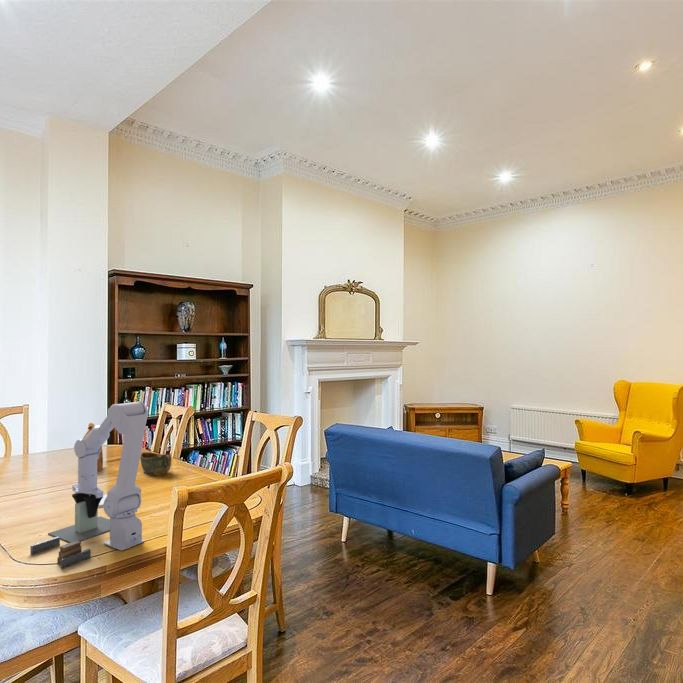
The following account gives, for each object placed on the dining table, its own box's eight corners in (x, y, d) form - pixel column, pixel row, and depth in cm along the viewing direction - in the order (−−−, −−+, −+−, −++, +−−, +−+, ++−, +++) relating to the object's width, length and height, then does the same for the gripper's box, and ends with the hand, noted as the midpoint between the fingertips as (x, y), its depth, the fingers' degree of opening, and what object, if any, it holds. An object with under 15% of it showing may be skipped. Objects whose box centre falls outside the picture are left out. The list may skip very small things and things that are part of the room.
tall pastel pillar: (97, 527, 165) (97, 500, 165) (80, 533, 160) (80, 505, 160) (92, 525, 167) (92, 498, 167) (74, 531, 162) (75, 503, 161)
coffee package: (78, 474, 230) (78, 427, 230) (81, 467, 242) (81, 422, 242) (101, 471, 234) (102, 425, 234) (103, 465, 245) (103, 421, 245)
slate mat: (124, 525, 168) (124, 524, 168) (72, 544, 152) (72, 542, 152) (100, 517, 175) (100, 516, 175) (48, 534, 160) (48, 533, 160)
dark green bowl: (142, 480, 221) (142, 457, 221) (139, 469, 239) (140, 449, 239) (172, 477, 226) (172, 455, 226) (167, 467, 244) (168, 446, 244)
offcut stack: (82, 557, 143) (82, 541, 143) (62, 565, 138) (62, 548, 138) (78, 555, 144) (78, 539, 144) (57, 563, 139) (57, 546, 139)
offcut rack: (90, 557, 143) (90, 549, 143) (62, 568, 136) (62, 559, 136) (58, 544, 152) (58, 536, 152) (30, 553, 145) (30, 545, 145)
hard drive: (93, 496, 195) (95, 505, 184) (115, 493, 199) (119, 501, 188) (93, 500, 195) (95, 509, 184) (115, 497, 199) (119, 506, 189)
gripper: (63, 474, 164) (63, 514, 164) (88, 481, 156) (88, 523, 156) (84, 469, 170) (83, 508, 170) (109, 475, 162) (109, 517, 162)
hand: (87, 515), depth 164 cm, fingers open, 5 cm apart
